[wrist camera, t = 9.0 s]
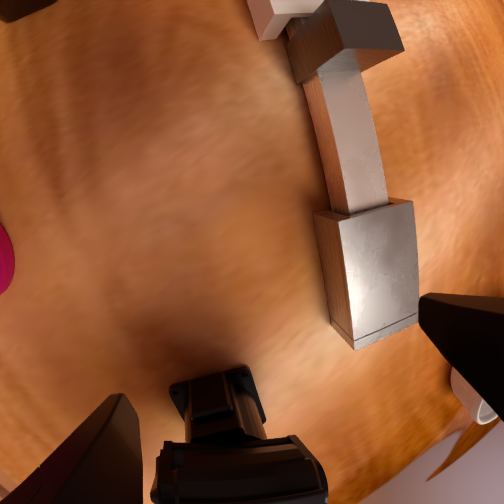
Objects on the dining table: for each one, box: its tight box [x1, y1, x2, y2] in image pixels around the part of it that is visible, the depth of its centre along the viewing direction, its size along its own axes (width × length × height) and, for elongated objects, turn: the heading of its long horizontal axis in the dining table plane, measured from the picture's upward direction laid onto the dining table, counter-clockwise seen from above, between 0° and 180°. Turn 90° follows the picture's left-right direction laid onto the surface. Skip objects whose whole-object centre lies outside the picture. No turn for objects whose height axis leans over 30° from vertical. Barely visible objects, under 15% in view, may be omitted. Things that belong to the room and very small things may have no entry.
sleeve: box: [312, 197, 419, 351], centre depth 20 cm, size 9×6×4 cm, turn 14°
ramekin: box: [451, 366, 498, 424], centre depth 26 cm, size 13×13×7 cm
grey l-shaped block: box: [285, 0, 405, 216], centre depth 15 cm, size 16×4×7 cm, turn 14°
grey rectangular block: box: [247, 0, 370, 41], centre depth 15 cm, size 4×7×4 cm, turn 104°
